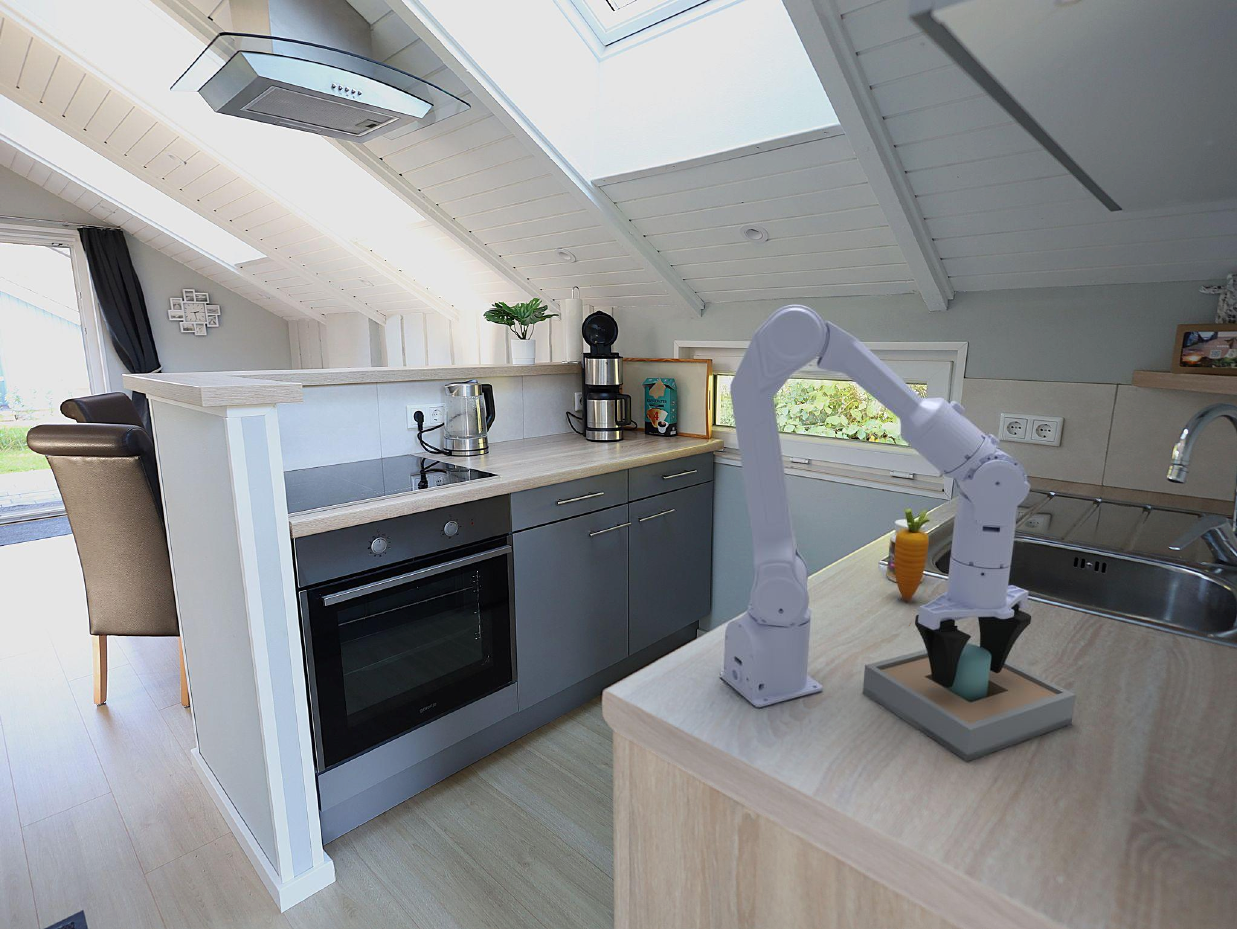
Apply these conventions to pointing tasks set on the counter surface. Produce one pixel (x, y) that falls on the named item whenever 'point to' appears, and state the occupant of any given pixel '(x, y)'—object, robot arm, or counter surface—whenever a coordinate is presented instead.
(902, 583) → the carrot
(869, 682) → the bore box
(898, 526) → the pill bottle
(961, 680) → the teal peg
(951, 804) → the counter surface
